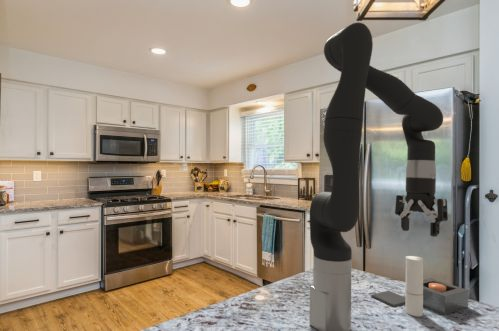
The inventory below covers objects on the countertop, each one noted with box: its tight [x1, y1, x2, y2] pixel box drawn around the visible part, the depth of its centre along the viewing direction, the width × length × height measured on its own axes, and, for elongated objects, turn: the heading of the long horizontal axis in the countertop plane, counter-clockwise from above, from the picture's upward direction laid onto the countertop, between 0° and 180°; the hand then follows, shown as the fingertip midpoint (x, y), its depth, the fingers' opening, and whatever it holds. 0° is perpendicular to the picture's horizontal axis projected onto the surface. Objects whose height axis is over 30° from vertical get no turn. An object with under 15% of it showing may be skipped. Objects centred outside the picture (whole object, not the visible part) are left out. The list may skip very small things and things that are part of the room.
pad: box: [370, 290, 406, 308], centre depth 94 cm, size 8×8×1 cm
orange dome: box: [429, 283, 446, 293], centre depth 92 cm, size 4×4×2 cm
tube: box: [404, 255, 424, 317], centre depth 86 cm, size 4×4×15 cm
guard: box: [423, 277, 469, 316], centre depth 92 cm, size 11×11×5 cm
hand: (419, 233), depth 89 cm, fingers open, 8 cm apart
